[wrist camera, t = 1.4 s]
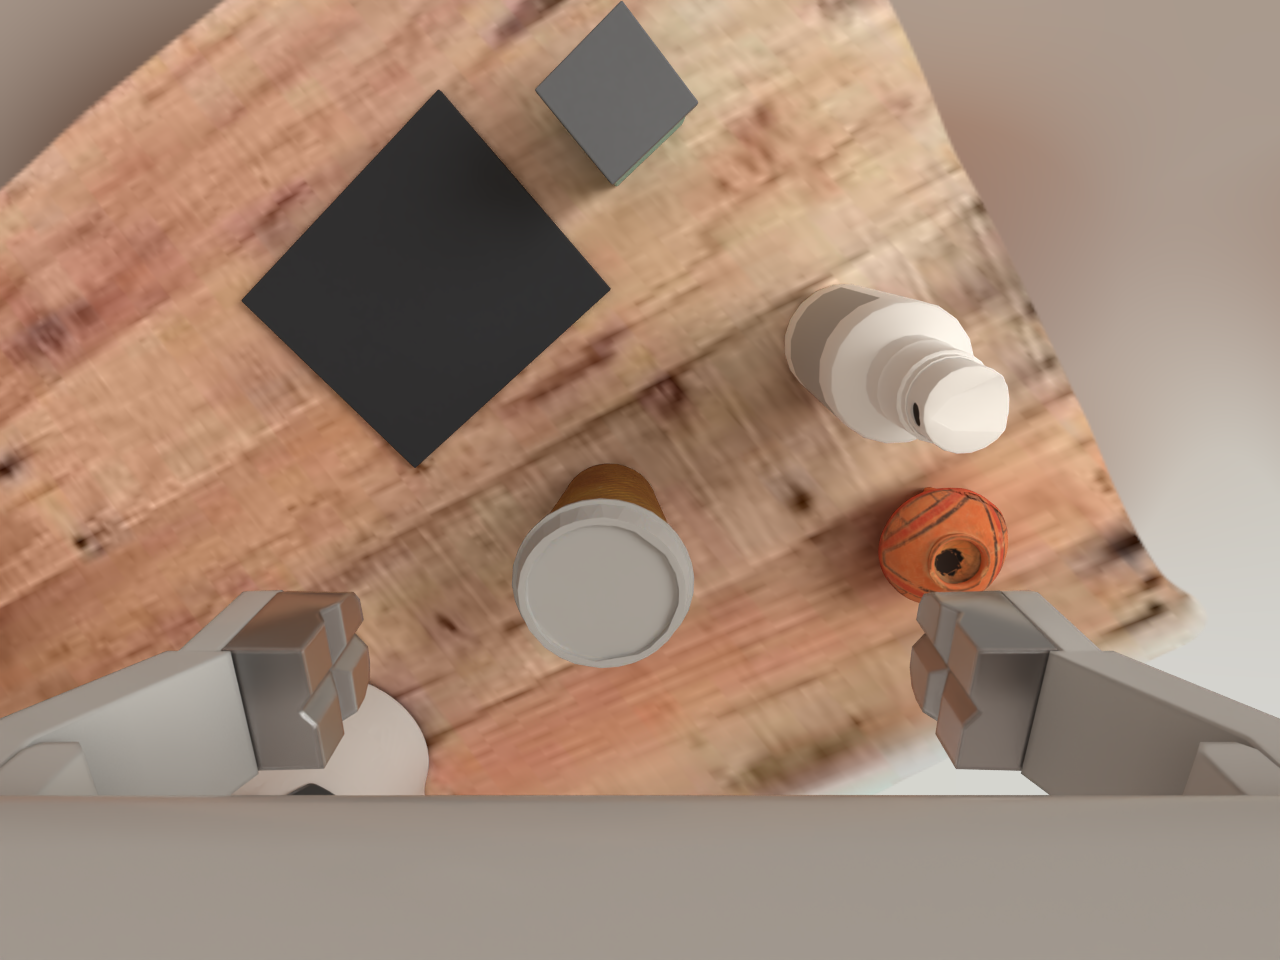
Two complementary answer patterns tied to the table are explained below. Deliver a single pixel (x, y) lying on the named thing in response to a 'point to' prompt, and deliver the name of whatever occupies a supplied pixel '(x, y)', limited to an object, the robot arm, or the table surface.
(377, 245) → the mat
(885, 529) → the pot
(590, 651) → the disposable coffee cup
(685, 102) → the green block grey end
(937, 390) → the spray bottle
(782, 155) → the table surface
